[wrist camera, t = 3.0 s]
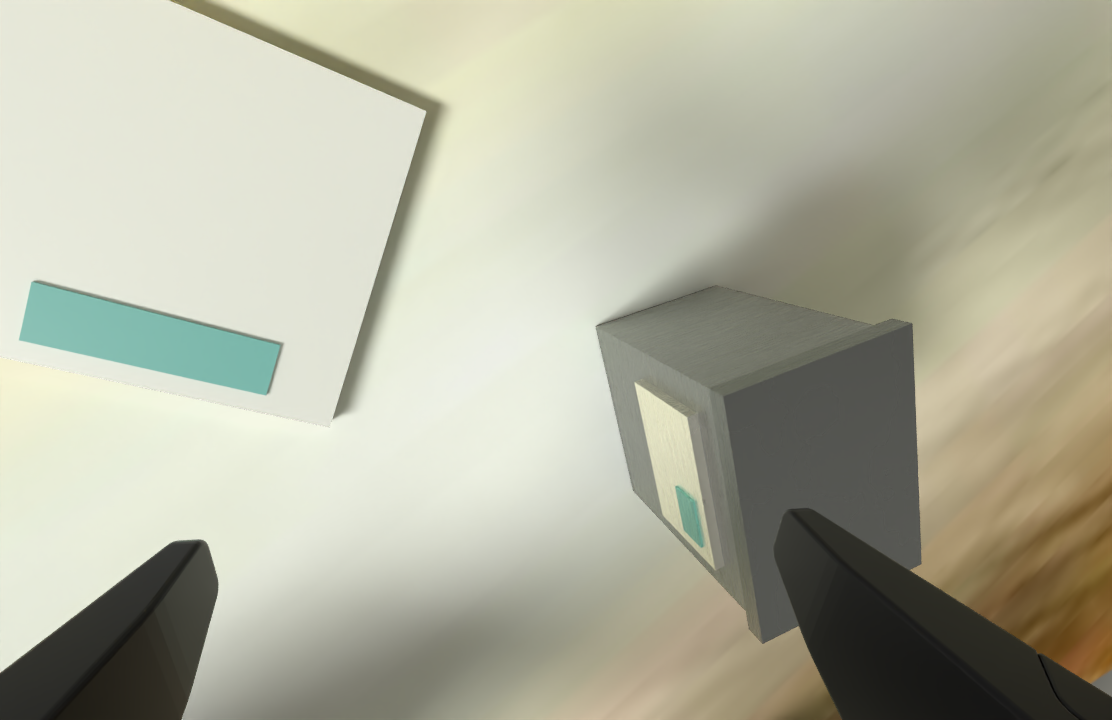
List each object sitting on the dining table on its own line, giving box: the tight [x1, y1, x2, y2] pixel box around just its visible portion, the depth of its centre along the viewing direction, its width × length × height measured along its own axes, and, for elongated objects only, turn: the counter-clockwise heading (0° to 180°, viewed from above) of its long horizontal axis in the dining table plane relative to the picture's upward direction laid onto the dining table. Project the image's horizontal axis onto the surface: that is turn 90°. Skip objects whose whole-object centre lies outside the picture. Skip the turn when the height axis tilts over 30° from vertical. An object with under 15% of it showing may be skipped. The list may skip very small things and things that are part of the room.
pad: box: [0, 0, 427, 428], centre depth 16 cm, size 10×10×1 cm
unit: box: [596, 286, 921, 644], centre depth 19 cm, size 7×6×8 cm
